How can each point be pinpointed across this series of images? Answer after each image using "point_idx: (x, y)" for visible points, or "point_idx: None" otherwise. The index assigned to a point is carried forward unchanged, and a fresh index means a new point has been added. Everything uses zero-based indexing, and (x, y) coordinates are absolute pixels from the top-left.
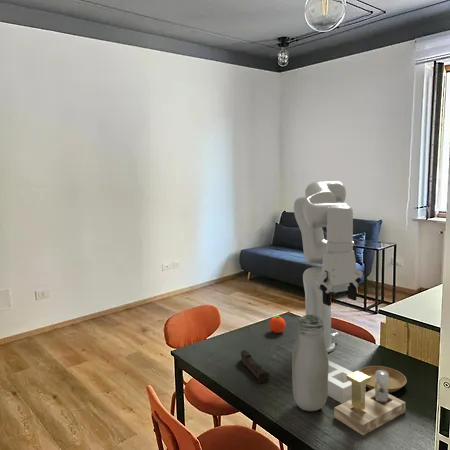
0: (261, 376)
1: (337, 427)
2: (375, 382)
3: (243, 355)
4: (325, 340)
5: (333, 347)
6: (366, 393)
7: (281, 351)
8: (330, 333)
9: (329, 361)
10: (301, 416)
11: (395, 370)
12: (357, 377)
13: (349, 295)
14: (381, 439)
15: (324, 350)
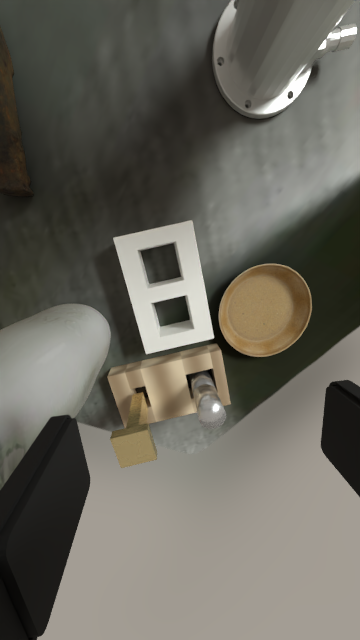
0: (4, 193)
1: (101, 390)
2: (197, 398)
3: None
4: (273, 81)
5: (285, 106)
6: (190, 360)
7: (139, 26)
8: (310, 57)
9: (191, 233)
10: None
11: (310, 302)
12: (128, 453)
13: (346, 419)
14: None
15: None
